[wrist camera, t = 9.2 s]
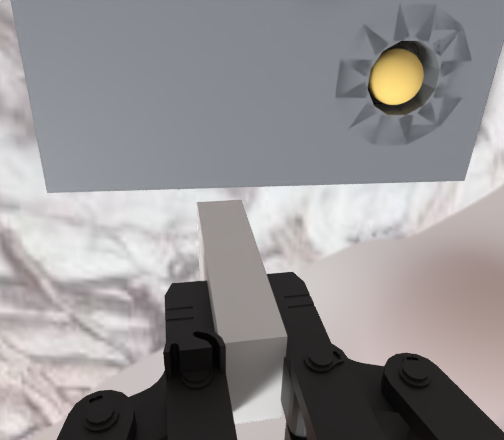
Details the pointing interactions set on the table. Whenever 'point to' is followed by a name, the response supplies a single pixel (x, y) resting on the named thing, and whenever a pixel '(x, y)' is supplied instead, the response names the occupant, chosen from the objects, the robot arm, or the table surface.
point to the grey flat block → (251, 91)
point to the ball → (396, 76)
